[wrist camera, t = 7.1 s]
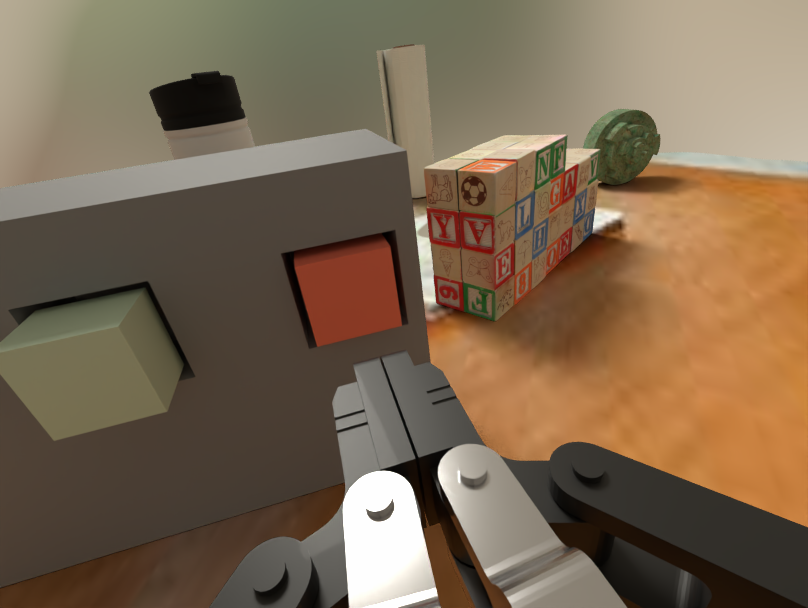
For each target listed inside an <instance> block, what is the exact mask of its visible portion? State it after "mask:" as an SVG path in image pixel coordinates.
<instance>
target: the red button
mask: <svg viewBox="0 0 808 608" xmlns="http://www.w3.org/2000/svg"><path fill="white" fill-rule="evenodd" d="M294 264H295V270H296V274H297V277H298V281H299V284H300V288H301V291H302V295H303V298H304V302H305V305H306V309H307V312H308V316H309V319H310V323H311V326H312V330H313V333H314V337H315V340H316V344H317V347H319V346H323V345H327V344H331V343H335V342H339V341H343V340H347V339H351V338H355V337H359V336H363V335H367V334H371V333H375V332H379V331H383V330H387V329H391V328H395V327H399V326H402V322H401V315H400V308H399V302H398V295H397V288H396V281H395V275H394V268H393V261H392V254H391V248H390V245H389V244H388V242H387V241H386V239H385V238H384V236H383V235H382V233H377V234H372V235H367V236H363V237H358V238H353V239H348V240H343V241H338V242H334V243H329V244H324V245H319V246H314V247H309V248H305V249H300V250H295V251H294Z"/></svg>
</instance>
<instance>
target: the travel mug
mask: <svg viewBox="0 0 808 608" xmlns="http://www.w3.org/2000/svg"><path fill="white" fill-rule="evenodd" d="M191 77H192V78H191V79H186V80H181V81H176V82H172V83H169V84H165V85H162V86H159V87H157V88H154V89H152V90H151V91H150V92H149V94H150V96H151V99H152V101H153V104H154V106H155V109H156V111H157V114H158V116H159V117H160V118H161V120H162V121H161V124H162V127H163V129H164V131H163V132H164V134H165V136H166V137H167V138H168V139H169V140H168V144H169V147H170V149H171V152H172V154H173V157H174V160H177V159H183V158H190V157H196V156H202V155H208V154H214V153H220V152H226V151H233V150H239V149H245V148H251V147H255V145H254V142H253V139H252V135H251V132H250V128H248V127H247V124H248V121H247V118H246V117H245V114H244V110H243V109H242V108H241V100H240V96H239V93H238V90H237V86H236V83H235V79H234V77H232V76H228V75H220V73H219V71H213V72H203V73H195V74H191Z"/></svg>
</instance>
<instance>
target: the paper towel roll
mask: <svg viewBox="0 0 808 608" xmlns="http://www.w3.org/2000/svg"><path fill="white" fill-rule="evenodd" d="M377 58H378V65H379V73H380V81H381V88H382V96H383V104H384V111H385V118H386V126H387V134H388V141H390V142H392V143H394V144H396V145H398V146H399V147H401V148H403V149H405V150H407V157H408V166H409V175H410V184H411V193H412V198H420V197H425V196H426V188H425V179H424V168H425V167H427V166H429V165H432V164H434V158H433V144H432V131H431V119H430V106H429V95H428V83H427V70H426V57H425V46H424V45H416V46H415V45H404V46H398V47H394V48H393V49H389V50H385V51H377Z"/></svg>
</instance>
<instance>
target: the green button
mask: <svg viewBox="0 0 808 608" xmlns="http://www.w3.org/2000/svg"><path fill="white" fill-rule="evenodd" d="M183 366H184V363H183V361H182V359H181V357H180V355H179V353H178V351H177V349H176V347H175V345H174V343H173V341H172V339H171V338H170V336H169V334H168V332H167V330H166V328H165V326H164V324H163V322H162V320H161V318H160V316H159V314H158V312H157V310H156V308H155V306H154V304H153V302H152V300H151V298H150V296H149V294H148V292H147V290H146V288H140V289H135V290H130V291H126V292H121V293H116V294H111V295H106V296H102V297H97V298H92V299H87V300H83V301H78V302H73V303H68V304H63V305H59V306H54V307H49V308H44V309H40V310H36V311H35V312H33V313H32V314H31V315H30V316H29V317H28V318H27V319H26V320H25V321H23V322H22V323H21V324H20V325H19V326H18V327H17V328H16V329H15V330H13V331H12V332H11V333H10V334H9V335H8V336H7V337H6V338H5V339H3V340H2V341H1V342H0V375H1V376H2V377H3V378H4V380H5V381H6V382H7V383H8V385H9V386H10V387H11V388H12V390H13V391H14V392H15V393H16V394H17V396H18V397H19V398H20V399H21V401H22V402H23V403H24V404H25V406H26V407H27V408H28V409H29V411H30V412H31V413H32V414H33V415H34V417H35V418H36V419H37V420H38V422H39V423H40V424H41V425H42V427H43V428H44V429H45V430H46V432H47V433H48V434H49V435H50V437H51V438H52V439H53V440H54V441H56V440H60V439H63V438H67V437H71V436H75V435H79V434H83V433H87V432H91V431H94V430H98V429H102V428H106V427H110V426H114V425H118V424H121V423H125V422H129V421H133V420H137V419H141V418H145V417H149V416H152V415H156V414H160V413H164V412H167V411H168V408H169V405H170V403H171V400H172V397H173V394H174V391H175V389H176V386H177V383H178V380H179V378H180V375H181V372H182V369H183Z"/></svg>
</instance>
